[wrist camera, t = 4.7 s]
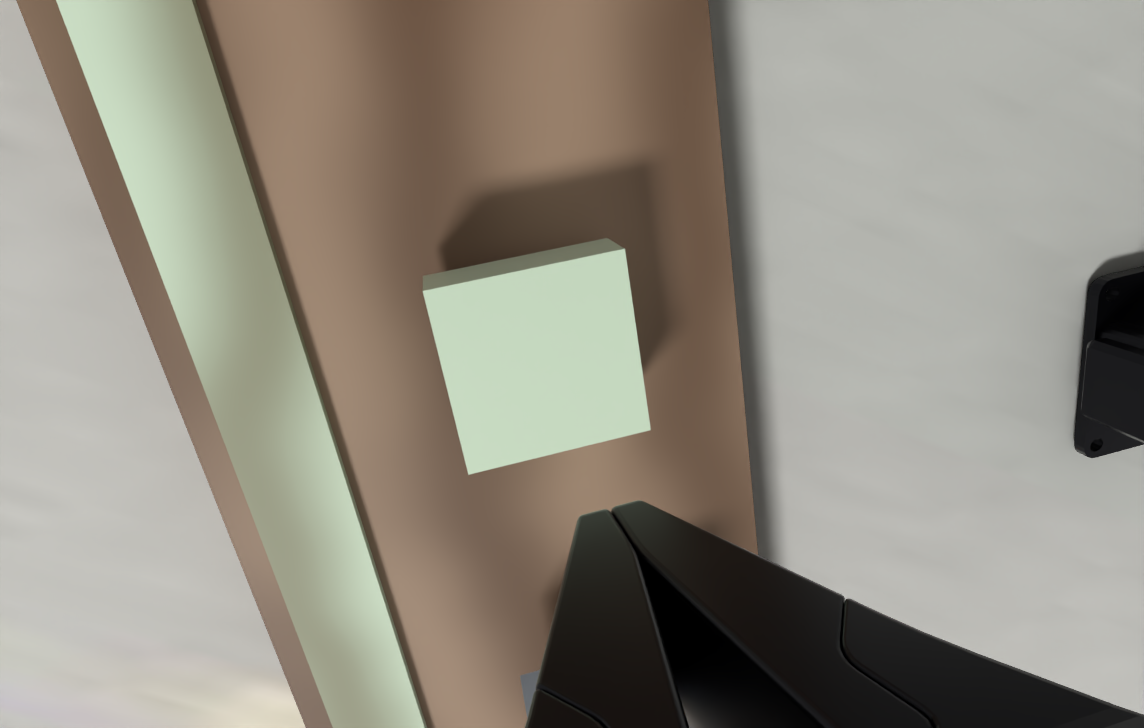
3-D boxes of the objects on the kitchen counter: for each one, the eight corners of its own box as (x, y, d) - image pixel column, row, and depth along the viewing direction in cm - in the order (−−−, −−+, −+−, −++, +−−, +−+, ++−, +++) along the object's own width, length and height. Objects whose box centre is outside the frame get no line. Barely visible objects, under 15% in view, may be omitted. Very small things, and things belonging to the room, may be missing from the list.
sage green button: (607, 238, 17) (624, 248, 15) (632, 405, 18) (650, 430, 17) (422, 275, 16) (422, 291, 15) (464, 445, 18) (468, 474, 16)
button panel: (642, -338, 16) (676, -412, 13) (745, 654, 25) (774, 704, 23) (-43, -270, 14) (-129, -343, 12) (351, 770, 23) (343, 834, 21)
